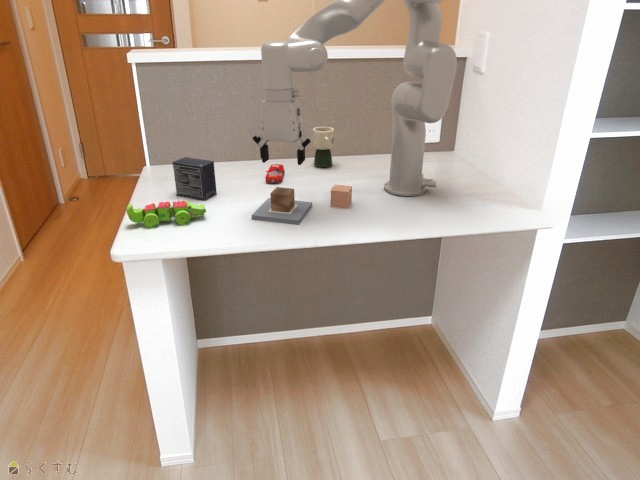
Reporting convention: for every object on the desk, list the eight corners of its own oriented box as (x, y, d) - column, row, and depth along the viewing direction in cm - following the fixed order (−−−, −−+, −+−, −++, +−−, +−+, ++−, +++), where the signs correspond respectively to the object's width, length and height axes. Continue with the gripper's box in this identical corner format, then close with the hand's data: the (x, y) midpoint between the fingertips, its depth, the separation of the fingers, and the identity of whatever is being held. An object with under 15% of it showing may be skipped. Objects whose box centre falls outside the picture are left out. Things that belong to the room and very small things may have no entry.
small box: (218, 194, 148) (215, 160, 144) (205, 201, 143) (201, 166, 139) (189, 189, 152) (185, 155, 148) (175, 195, 147) (171, 161, 143)
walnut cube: (294, 205, 137) (294, 188, 135) (288, 212, 132) (288, 195, 130) (277, 204, 138) (276, 187, 136) (271, 210, 134) (270, 193, 131)
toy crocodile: (206, 213, 135) (204, 192, 133) (207, 223, 130) (205, 201, 127) (130, 220, 131) (126, 199, 128) (127, 231, 125) (123, 208, 123)
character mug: (337, 170, 169) (337, 132, 163) (316, 171, 168) (316, 133, 162) (329, 160, 179) (329, 124, 173) (309, 162, 177) (309, 125, 171)
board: (312, 206, 140) (312, 201, 139) (298, 224, 129) (298, 220, 128) (268, 201, 143) (268, 197, 142) (251, 219, 132) (251, 214, 131)
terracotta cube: (351, 202, 143) (352, 186, 141) (347, 209, 139) (348, 192, 136) (334, 200, 144) (334, 184, 142) (330, 207, 140) (330, 190, 138)
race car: (281, 186, 156) (280, 173, 154) (264, 185, 156) (263, 173, 154) (286, 172, 168) (286, 160, 166) (270, 172, 168) (269, 160, 166)
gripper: (317, 93, 123) (318, 160, 131) (252, 91, 127) (257, 156, 135) (308, 99, 117) (310, 169, 124) (240, 97, 121) (246, 164, 129)
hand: (283, 162), depth 130 cm, fingers open, 9 cm apart
